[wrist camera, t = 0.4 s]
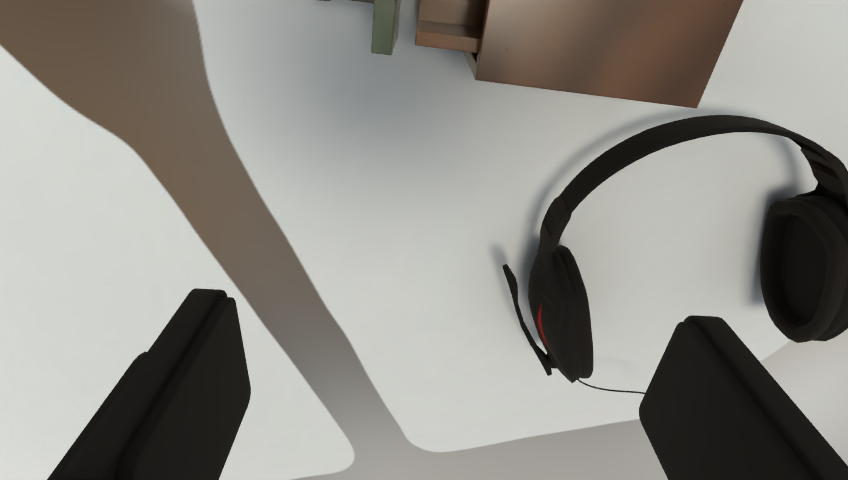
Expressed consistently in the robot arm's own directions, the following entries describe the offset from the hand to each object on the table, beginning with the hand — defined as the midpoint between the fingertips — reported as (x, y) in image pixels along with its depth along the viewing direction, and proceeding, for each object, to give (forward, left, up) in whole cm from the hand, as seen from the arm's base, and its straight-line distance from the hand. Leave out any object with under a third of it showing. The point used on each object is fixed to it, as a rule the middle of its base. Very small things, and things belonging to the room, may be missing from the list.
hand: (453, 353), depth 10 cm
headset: (+15, +23, -29) cm, 40 cm away
